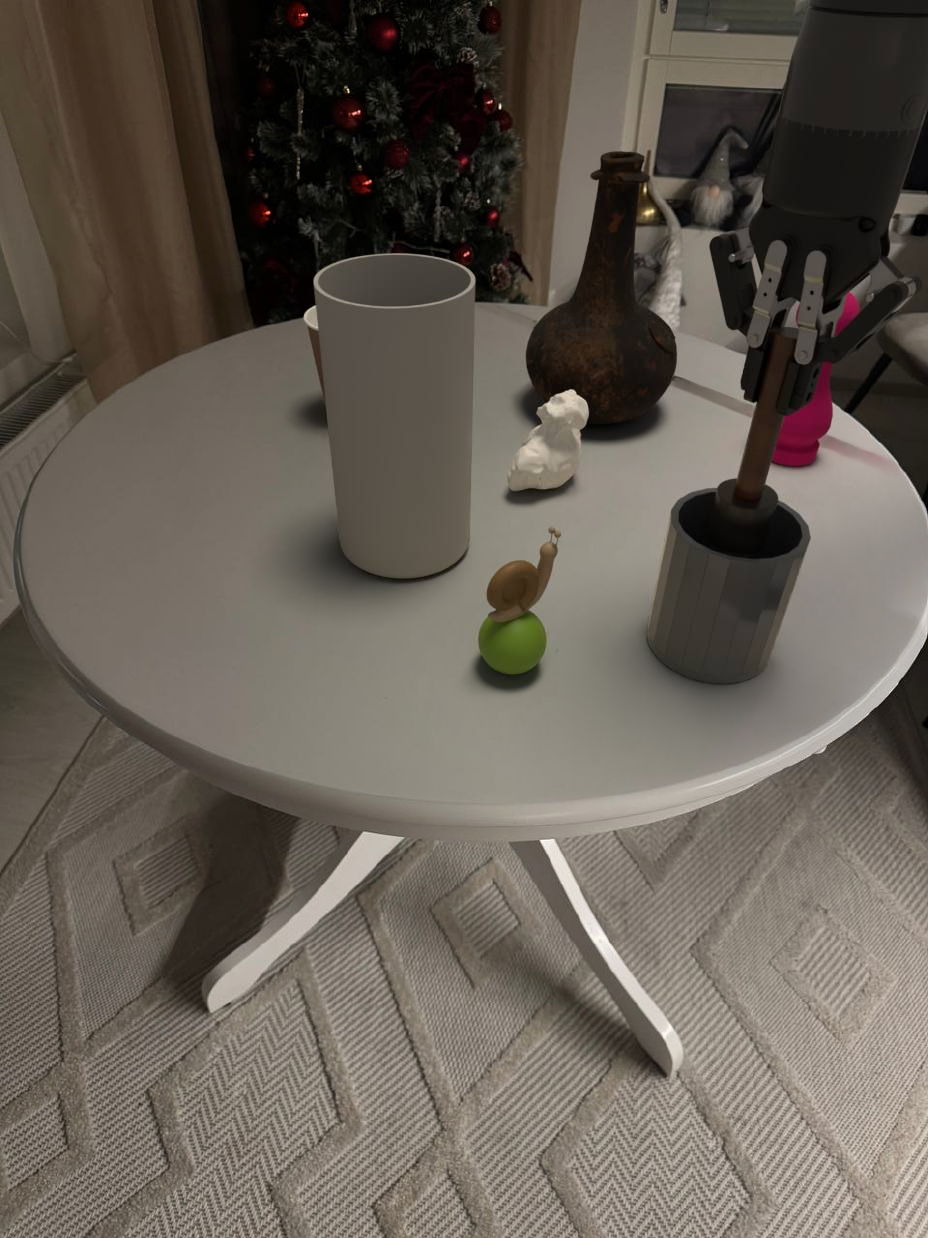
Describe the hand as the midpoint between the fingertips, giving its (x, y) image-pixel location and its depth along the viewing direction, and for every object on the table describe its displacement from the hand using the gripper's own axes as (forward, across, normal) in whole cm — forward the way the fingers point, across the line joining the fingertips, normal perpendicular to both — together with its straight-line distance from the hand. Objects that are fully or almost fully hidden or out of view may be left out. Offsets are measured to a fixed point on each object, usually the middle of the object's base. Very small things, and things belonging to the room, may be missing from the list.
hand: (771, 403), depth 57 cm
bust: (+22, +27, -9) cm, 36 cm away
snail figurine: (+22, +9, +14) cm, 27 cm away
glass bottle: (+22, +35, -26) cm, 49 cm away
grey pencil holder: (+22, 0, 0) cm, 22 cm away
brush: (+11, 0, 0) cm, 11 cm away
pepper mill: (+22, +13, -34) cm, 42 cm away
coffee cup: (+22, +53, -3) cm, 57 cm away
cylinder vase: (+22, +28, +10) cm, 37 cm away
